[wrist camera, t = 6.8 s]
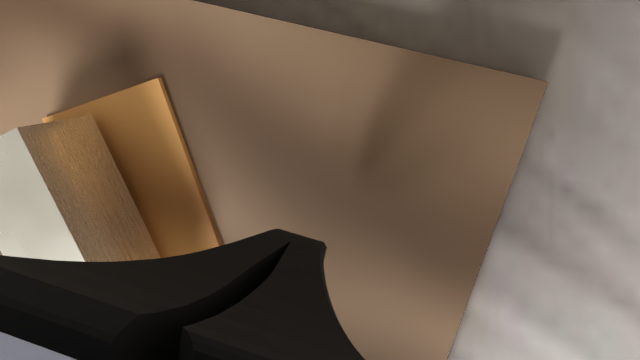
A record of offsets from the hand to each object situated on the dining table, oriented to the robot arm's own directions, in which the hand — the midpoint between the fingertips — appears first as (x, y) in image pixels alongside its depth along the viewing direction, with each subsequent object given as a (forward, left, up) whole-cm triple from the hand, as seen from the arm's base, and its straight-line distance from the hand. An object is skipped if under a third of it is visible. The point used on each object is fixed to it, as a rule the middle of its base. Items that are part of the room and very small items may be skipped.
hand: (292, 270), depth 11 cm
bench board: (-4, +7, -5) cm, 9 cm away
